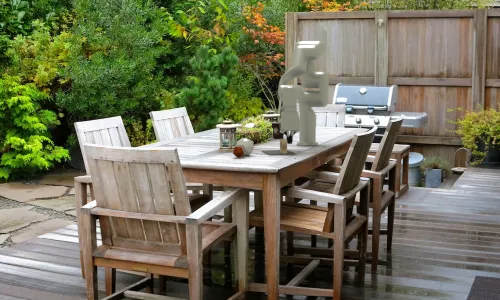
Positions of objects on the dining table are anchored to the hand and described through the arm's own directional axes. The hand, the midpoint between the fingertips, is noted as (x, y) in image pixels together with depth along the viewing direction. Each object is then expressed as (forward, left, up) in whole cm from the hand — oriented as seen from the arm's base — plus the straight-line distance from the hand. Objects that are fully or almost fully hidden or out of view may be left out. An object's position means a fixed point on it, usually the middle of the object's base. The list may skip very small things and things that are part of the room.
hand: (289, 143), depth 382 cm
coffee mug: (-65, +15, -5) cm, 67 cm away
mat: (-1, -6, -5) cm, 8 cm away
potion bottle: (+6, -27, -5) cm, 28 cm away
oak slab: (0, -4, -1) cm, 4 cm away
